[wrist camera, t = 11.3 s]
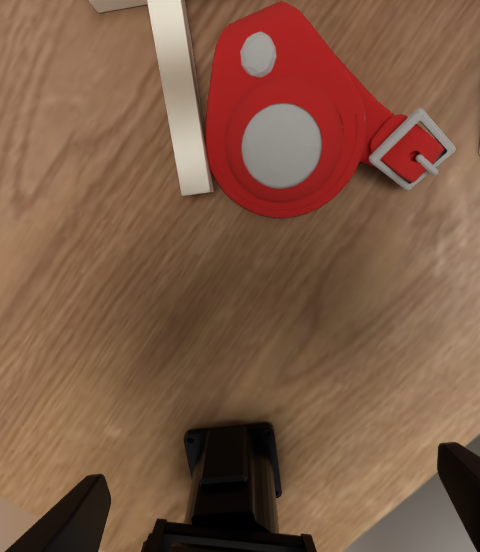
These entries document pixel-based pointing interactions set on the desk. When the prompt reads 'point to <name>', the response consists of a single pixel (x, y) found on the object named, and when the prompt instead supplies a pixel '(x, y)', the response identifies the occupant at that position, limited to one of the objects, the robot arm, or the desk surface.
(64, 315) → the desk surface
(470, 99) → the desk surface
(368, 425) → the desk surface
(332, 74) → the tracker holder
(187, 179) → the frame
